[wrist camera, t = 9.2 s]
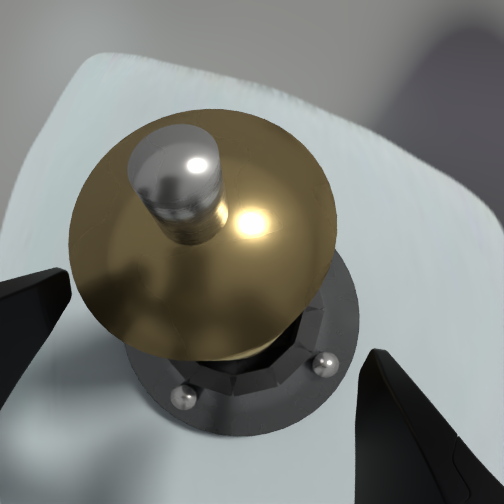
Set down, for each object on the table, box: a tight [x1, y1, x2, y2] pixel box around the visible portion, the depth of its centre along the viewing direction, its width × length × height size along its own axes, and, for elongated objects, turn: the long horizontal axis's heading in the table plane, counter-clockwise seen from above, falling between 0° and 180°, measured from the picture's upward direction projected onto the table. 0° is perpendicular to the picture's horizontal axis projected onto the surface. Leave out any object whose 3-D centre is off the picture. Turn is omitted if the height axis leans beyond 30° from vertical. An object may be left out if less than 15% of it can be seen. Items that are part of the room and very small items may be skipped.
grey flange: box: [125, 249, 359, 436], centre depth 17 cm, size 14×14×4 cm
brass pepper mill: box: [68, 109, 337, 361], centre depth 11 cm, size 5×5×14 cm
